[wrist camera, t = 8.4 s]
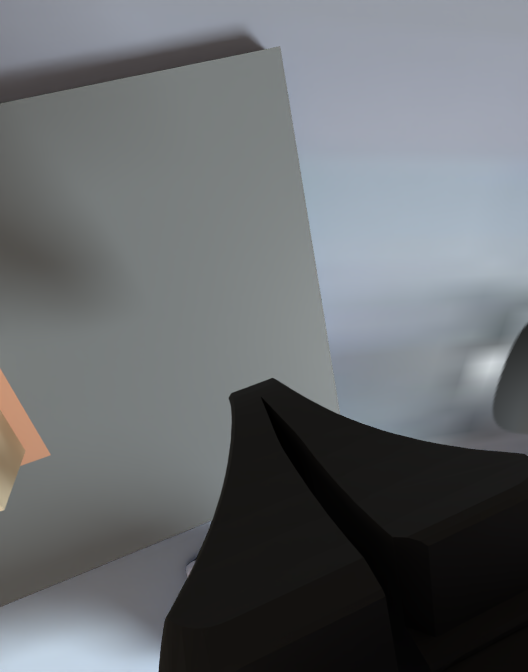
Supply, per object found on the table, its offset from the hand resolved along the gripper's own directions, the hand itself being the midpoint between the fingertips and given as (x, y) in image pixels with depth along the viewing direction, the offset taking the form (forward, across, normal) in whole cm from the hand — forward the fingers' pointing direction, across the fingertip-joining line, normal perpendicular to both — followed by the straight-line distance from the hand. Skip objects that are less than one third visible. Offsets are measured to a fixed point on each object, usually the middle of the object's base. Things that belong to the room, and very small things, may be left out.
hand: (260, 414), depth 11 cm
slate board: (+6, +9, 0) cm, 11 cm away
